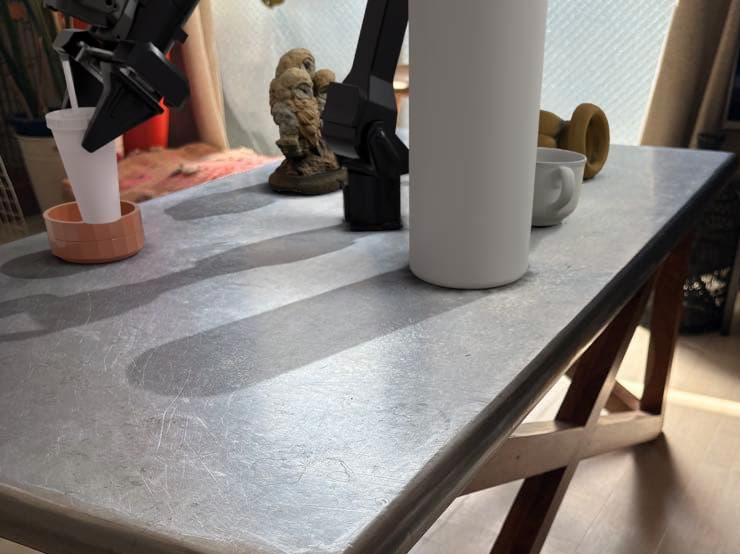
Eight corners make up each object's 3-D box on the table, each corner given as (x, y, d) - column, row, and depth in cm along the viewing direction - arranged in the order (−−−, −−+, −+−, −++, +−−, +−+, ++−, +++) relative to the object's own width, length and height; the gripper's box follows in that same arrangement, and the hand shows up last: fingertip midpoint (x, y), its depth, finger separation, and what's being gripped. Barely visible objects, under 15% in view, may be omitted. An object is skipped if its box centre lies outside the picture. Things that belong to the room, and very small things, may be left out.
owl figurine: (331, 200, 118) (324, 56, 108) (250, 195, 120) (236, 54, 111) (370, 171, 132) (367, 41, 122) (297, 167, 134) (288, 40, 125)
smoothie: (55, 224, 86) (16, 64, 78) (94, 208, 91) (62, 55, 83) (110, 230, 84) (76, 66, 76) (147, 212, 89) (119, 57, 81)
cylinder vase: (510, 297, 86) (529, -1, 72) (392, 283, 90) (387, -3, 76) (539, 260, 96) (561, -9, 82) (431, 249, 99) (434, -11, 85)
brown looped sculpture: (488, 101, 139) (618, 87, 127) (482, 188, 142) (608, 183, 130) (420, 73, 125) (559, 54, 112) (415, 171, 128) (550, 162, 115)
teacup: (486, 210, 113) (489, 143, 109) (568, 208, 114) (574, 141, 109) (505, 241, 102) (509, 168, 97) (597, 238, 103) (605, 166, 98)
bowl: (150, 237, 104) (144, 197, 101) (140, 263, 96) (133, 221, 93) (62, 240, 103) (53, 200, 100) (44, 267, 95) (33, 224, 92)
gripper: (49, -72, 82) (-37, 73, 83) (131, -73, 70) (29, 96, 71) (143, 20, 90) (64, 150, 91) (231, 33, 78) (139, 182, 79)
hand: (72, 144), depth 83 cm, fingers closed on smoothie, 6 cm apart
